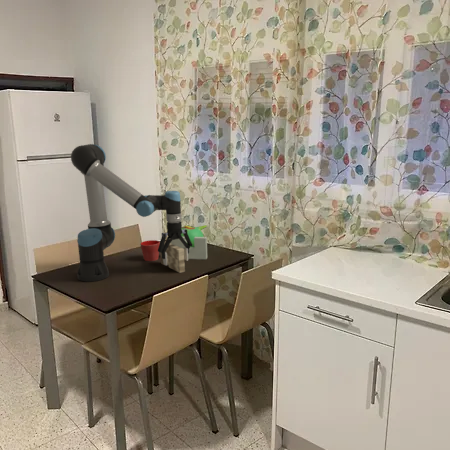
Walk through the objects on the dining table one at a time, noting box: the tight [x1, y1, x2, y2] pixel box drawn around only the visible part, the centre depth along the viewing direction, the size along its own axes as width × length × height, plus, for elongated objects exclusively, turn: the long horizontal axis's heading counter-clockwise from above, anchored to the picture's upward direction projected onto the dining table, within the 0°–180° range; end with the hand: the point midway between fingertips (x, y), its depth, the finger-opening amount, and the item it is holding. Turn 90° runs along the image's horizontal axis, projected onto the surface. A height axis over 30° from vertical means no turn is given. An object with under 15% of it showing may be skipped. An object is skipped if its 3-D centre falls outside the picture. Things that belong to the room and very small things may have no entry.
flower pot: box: [140, 239, 161, 262], centre depth 255 cm, size 11×11×10 cm
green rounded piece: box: [181, 224, 208, 247], centre depth 273 cm, size 18×17×15 cm
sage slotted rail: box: [166, 236, 208, 260], centre depth 255 cm, size 22×3×12 cm, turn 81°
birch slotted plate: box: [159, 240, 186, 273], centre depth 239 cm, size 20×3×12 cm, turn 36°
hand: (176, 262), depth 237 cm, fingers open, 12 cm apart
